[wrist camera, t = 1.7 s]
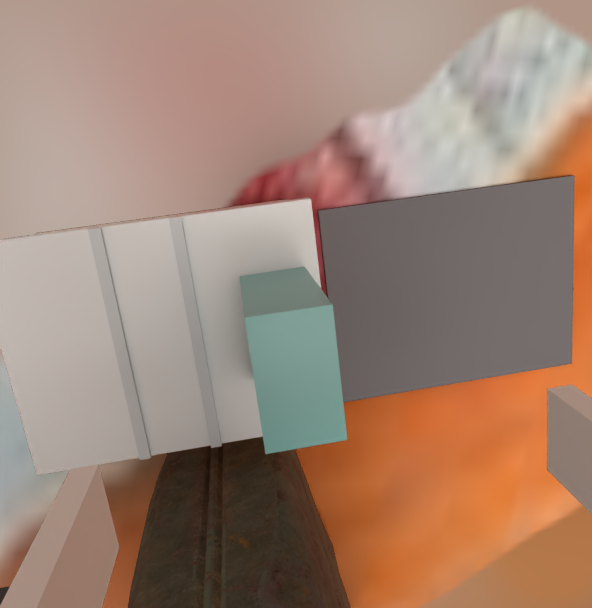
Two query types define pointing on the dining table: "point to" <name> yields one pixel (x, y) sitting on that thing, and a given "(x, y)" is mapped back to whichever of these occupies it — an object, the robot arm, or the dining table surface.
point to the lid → (170, 336)
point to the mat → (450, 285)
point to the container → (235, 534)
